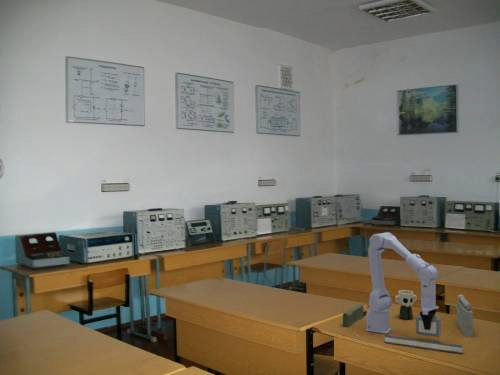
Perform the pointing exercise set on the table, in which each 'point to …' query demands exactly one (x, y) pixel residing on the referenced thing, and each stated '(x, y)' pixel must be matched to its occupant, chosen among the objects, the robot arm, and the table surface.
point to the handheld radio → (353, 315)
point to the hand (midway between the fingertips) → (428, 327)
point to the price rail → (424, 344)
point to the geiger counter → (464, 316)
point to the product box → (434, 329)
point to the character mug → (405, 303)
